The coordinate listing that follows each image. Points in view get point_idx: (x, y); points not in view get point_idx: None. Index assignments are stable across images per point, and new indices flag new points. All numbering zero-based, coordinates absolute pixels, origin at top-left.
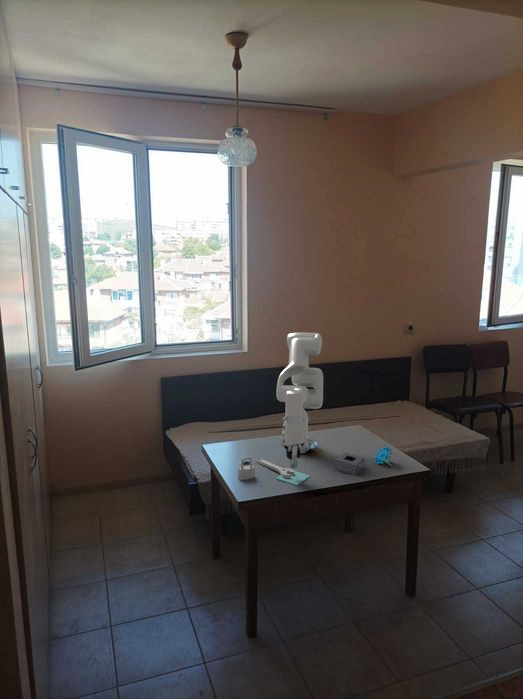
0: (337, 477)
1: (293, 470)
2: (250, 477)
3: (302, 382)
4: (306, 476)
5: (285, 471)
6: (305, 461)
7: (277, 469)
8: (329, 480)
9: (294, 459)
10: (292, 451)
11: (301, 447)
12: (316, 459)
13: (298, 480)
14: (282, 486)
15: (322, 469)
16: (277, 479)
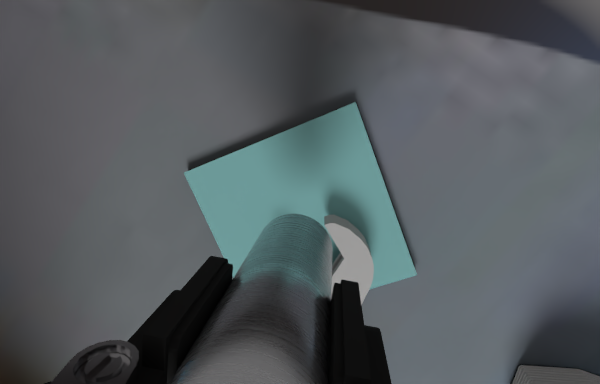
0: (19, 55)
1: None
2: (564, 374)
3: None
4: (214, 175)
5: None
6: None
7: None
8: (94, 46)
9: (299, 258)
10: (314, 365)
11: (66, 366)
12: (24, 342)
13: (303, 154)
14: (450, 155)
15: (55, 214)
16: (410, 260)
